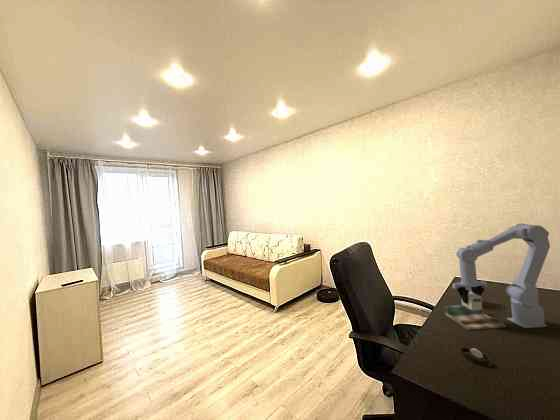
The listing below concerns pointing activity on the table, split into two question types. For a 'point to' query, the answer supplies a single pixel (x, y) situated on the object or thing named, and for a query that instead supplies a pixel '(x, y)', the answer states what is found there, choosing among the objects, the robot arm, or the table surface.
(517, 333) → the table surface
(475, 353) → the watch
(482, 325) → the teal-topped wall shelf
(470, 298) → the beige rectangular block
